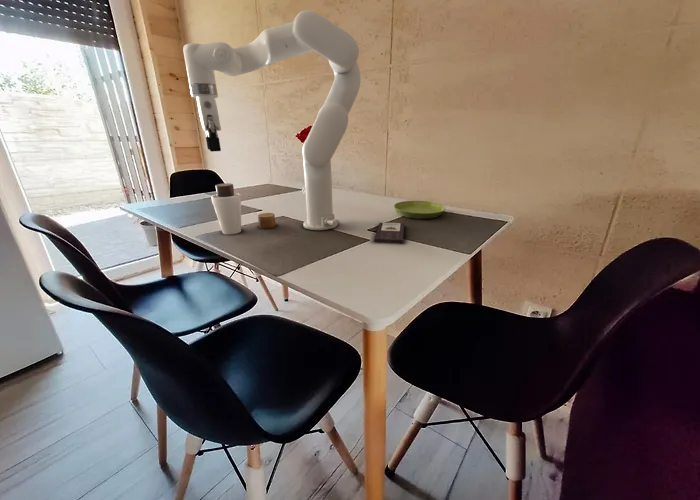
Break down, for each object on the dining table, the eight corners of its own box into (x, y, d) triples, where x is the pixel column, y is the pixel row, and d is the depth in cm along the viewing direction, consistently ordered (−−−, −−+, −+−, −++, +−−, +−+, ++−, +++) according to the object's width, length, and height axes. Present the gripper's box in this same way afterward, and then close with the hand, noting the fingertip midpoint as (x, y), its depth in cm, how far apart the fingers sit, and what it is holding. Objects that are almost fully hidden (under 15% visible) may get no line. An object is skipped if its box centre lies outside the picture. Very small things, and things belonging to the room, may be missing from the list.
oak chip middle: (278, 220, 115) (277, 214, 115) (263, 224, 111) (263, 218, 111) (269, 217, 119) (268, 211, 118) (255, 220, 115) (254, 215, 115)
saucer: (392, 220, 121) (392, 211, 120) (394, 207, 140) (394, 200, 139) (447, 221, 118) (448, 213, 117) (441, 208, 137) (442, 201, 136)
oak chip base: (278, 226, 116) (278, 220, 115) (264, 229, 112) (263, 224, 111) (270, 223, 120) (269, 217, 119) (256, 226, 116) (255, 220, 115)
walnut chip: (237, 195, 106) (235, 184, 105) (221, 197, 102) (219, 186, 101) (230, 193, 110) (228, 182, 108) (214, 195, 106) (212, 185, 105)
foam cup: (218, 237, 105) (211, 199, 100) (217, 229, 113) (210, 194, 108) (247, 233, 109) (241, 196, 104) (244, 226, 117) (239, 191, 112)
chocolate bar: (374, 239, 98) (379, 222, 115) (374, 241, 99) (379, 224, 115) (403, 240, 97) (404, 223, 113) (402, 243, 97) (404, 225, 114)
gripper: (220, 89, 90) (229, 151, 96) (214, 94, 104) (223, 148, 111) (191, 88, 87) (203, 152, 93) (190, 94, 101) (200, 149, 108)
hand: (214, 150), depth 102 cm, fingers open, 9 cm apart
